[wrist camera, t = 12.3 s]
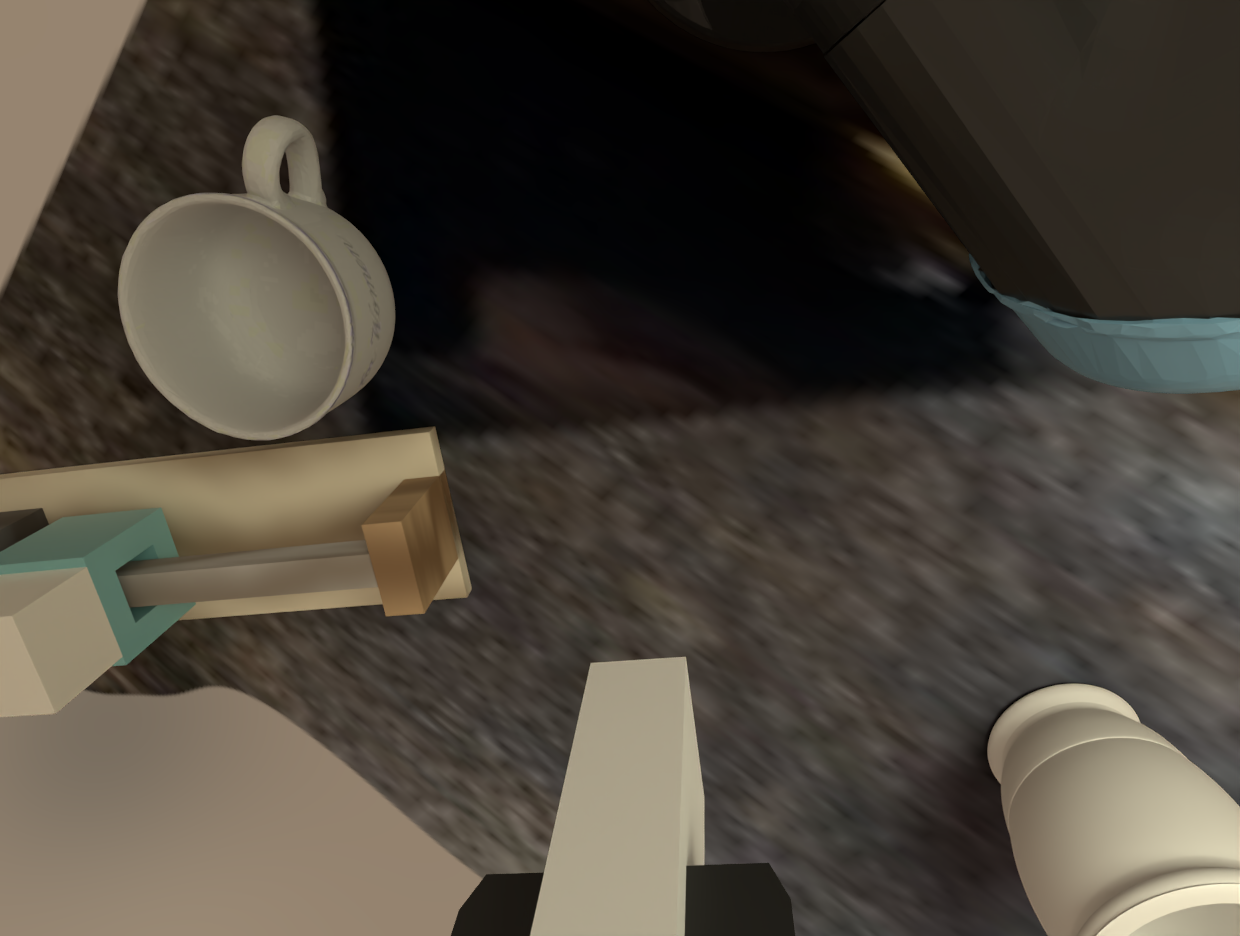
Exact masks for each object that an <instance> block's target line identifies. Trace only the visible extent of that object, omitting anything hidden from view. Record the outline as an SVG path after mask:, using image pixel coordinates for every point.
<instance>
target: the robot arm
mask: <svg viewBox="0 0 1240 936" xmlns="http://www.w3.org/2000/svg"><path fill="white" fill-rule="evenodd" d="M648 1H649V2H650V3H651V4H652V5H653V6H654V7H655V8H656V9H657V10H658V11H659V12H660V13H662V14H663V15H664V16H665V17H666V18H667V19H669V20H670V21H671V22H673V23H674V24H676V25H677V26H678V27H680V28H682V29H683V30H685V31H687V32H688V33H690V34H692V35H694V36H696V37H698V38H700V39H702V40H705V41H707V42H710V43H712V44H715V45H719V46H722V47H725V48H730V49H735V50H741V51H749V52H777V51H785V50H792V49H796V48H801V47H805V46H808V45H812V44H815V43H816V44H817V45H818V47H819V48H820V50H821V51H822V53H823V54H825V53H826V52H827V51H828V50H829V49H830V48H831V47H832V46H833V45H834V44H836V43H837V42H838V41H839V40H840V39H841V38H843V37H844V36H845V35H846V34H847V33H848V32H849V33H848V34H847V35H846V36H845V37H844V38H843V39H842V40H841V41H840V42H838V43H837V44H836V45H835V46H834V47H833V48H832V49H831V50H830V51H829V52H828V53H827V54H826V55H825V56H824V58H825V59H826V61H827V62H828V63H829V65H830V66H831V67H832V69H833V70H834V72H835V73H836V74H837V76H838V77H839V78H840V80H841V81H842V82H843V84H844V85H845V86H846V88H847V89H848V90H849V92H850V93H851V94H852V96H853V97H854V98H855V100H856V101H857V102H858V104H859V105H860V106H861V108H862V109H863V110H864V112H865V113H866V115H867V116H868V117H869V119H870V120H871V121H872V123H873V124H874V125H875V127H876V128H877V129H878V131H879V132H880V133H881V135H882V136H883V137H884V139H885V140H886V141H887V143H888V144H889V145H890V147H891V148H892V149H893V151H894V152H895V153H896V155H897V156H898V158H899V159H900V160H901V162H902V163H903V164H904V166H905V167H906V168H907V170H908V171H909V172H910V174H911V175H912V176H913V178H914V179H915V180H916V182H917V183H918V184H919V186H920V187H921V188H922V190H923V191H924V192H925V194H926V195H927V197H928V198H929V199H930V201H931V202H932V203H933V205H934V206H935V207H936V209H937V210H938V211H939V213H940V214H941V215H942V217H943V218H944V219H945V221H946V222H947V223H948V225H949V226H950V227H951V229H952V230H953V231H954V233H955V234H956V235H957V237H958V238H959V240H960V241H961V242H962V244H963V245H964V246H965V248H966V249H967V250H968V252H969V260H970V263H971V266H972V268H973V270H974V272H975V274H976V276H977V277H978V279H979V280H980V282H981V283H982V285H983V286H984V287H985V288H986V289H987V290H988V292H989V293H993V294H994V295H995V296H996V297H997V298H998V300H999V301H1000V302H1001V303H1002V304H1004V305H1006V306H1008V307H1009V308H1011V309H1013V310H1014V312H1015V313H1016V314H1017V315H1018V316H1019V318H1020V319H1021V320H1022V321H1023V323H1024V324H1025V325H1026V326H1027V327H1028V329H1029V330H1030V331H1031V332H1032V333H1033V335H1034V336H1035V337H1036V338H1037V340H1038V341H1039V342H1040V343H1041V344H1042V345H1043V347H1044V348H1045V349H1046V350H1047V351H1048V352H1049V353H1050V354H1051V355H1052V356H1053V357H1055V358H1056V359H1057V360H1059V361H1060V362H1062V363H1063V364H1064V365H1066V366H1068V367H1069V368H1071V369H1072V370H1074V371H1076V372H1077V373H1079V374H1081V375H1083V376H1086V377H1088V378H1090V379H1092V380H1095V381H1098V382H1101V383H1104V384H1108V385H1112V386H1115V387H1120V388H1125V389H1131V390H1137V391H1144V392H1153V393H1175V394H1190V393H1208V392H1223V391H1232V390H1240V0H648ZM862 19H863V20H862ZM855 26H856V27H855ZM854 27H855V28H854ZM853 28H854V29H853ZM451 936H795V931H794V923H793V914H792V906H791V899H790V897H789V896H788V894H787V892H786V891H785V889H784V887H783V886H782V884H781V882H780V881H779V879H778V877H777V876H776V874H775V872H774V871H773V869H772V868H771V866H770V864H769V863H755V864H723V865H704V792H703V784H702V777H701V769H700V761H699V754H698V746H697V738H696V731H695V723H694V716H693V708H692V700H691V693H690V685H689V678H688V670H687V662H686V657H675V658H660V659H645V660H630V661H615V662H600V663H591V665H590V669H589V673H588V678H587V682H586V687H585V691H584V696H583V700H582V705H581V709H580V714H579V718H578V723H577V727H576V732H575V736H574V741H573V745H572V750H571V754H570V759H569V763H568V768H567V772H566V777H565V781H564V786H563V790H562V795H561V799H560V804H559V808H558V813H557V817H556V822H555V826H554V831H553V835H552V840H551V844H550V849H549V853H548V857H547V862H546V866H545V871H544V873H519V874H486V876H485V877H484V878H483V880H482V881H481V882H480V884H479V885H478V886H477V887H476V889H475V890H474V891H473V893H472V894H471V895H470V897H469V898H468V899H467V901H466V902H465V903H464V904H463V906H462V907H461V908H460V910H459V912H458V915H457V918H456V921H455V925H454V928H453V931H452V934H451Z"/></svg>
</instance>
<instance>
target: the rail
mask: <svg viewBox="0 0 1240 936" xmlns="http://www.w3.org/2000/svg"><path fill="white" fill-rule="evenodd" d="M160 507H161V508H162V511H163V514H164V516H165V519H166V522H167V525H168V527H169V530H170V533H171V536H172V539H173V541H174V544H175V547H176V550H177V553H178V555H179V557H172V558H161V559H151V560H140V561H129V562H127V563H126V564H124V565H123V566H121V567H120V568H118V569H117V570H116V571H115V572H116V574H117V577H118V579H119V582H120V584H121V587H122V589H123V592H124V595H125V597H126V600H127V602H128V605H129V607H130V608H131V607H143V606H155V605H167V604H179V603H192V602H195V603H196V605H195V606H193V607H192V608H191V609H190V610H189V611H188V612H187V613H185V614H184V615H183V616H182V617H181V618H180V619H179V620H189V619H201V618H214V617H226V616H239V615H251V614H264V613H277V612H289V611H302V610H314V609H327V608H339V607H352V606H364V605H377V604H383V607H384V610H385V614H386V616H397V615H410V614H423V613H425V612H426V610H427V608H428V607H429V605H430V603H431V602H432V600H440V599H452V598H465V597H468V595H469V593H470V591H471V590H472V587H471V583H470V578H469V574H468V569H467V565H466V561H465V556H464V552H463V547H462V543H461V539H460V534H459V530H458V525H457V521H456V517H455V512H454V508H453V503H452V499H451V495H450V490H449V486H448V481H447V477H446V473H445V468H444V464H443V459H442V455H441V451H440V446H439V442H438V437H437V433H436V429H435V427H426V428H416V429H407V430H398V431H389V432H380V433H371V434H362V435H353V436H344V437H335V438H326V439H317V440H307V441H298V442H289V443H280V444H271V445H262V446H253V447H244V448H235V449H226V450H217V451H208V452H198V453H189V454H180V455H171V456H162V457H153V458H144V459H135V460H126V461H117V462H108V463H99V464H90V465H80V466H71V467H62V468H53V469H44V470H35V471H26V472H17V473H8V474H0V552H1V551H3V550H5V549H6V548H8V547H10V546H12V545H14V544H15V543H17V542H19V541H21V540H23V539H24V538H26V537H28V536H30V535H32V534H33V533H35V532H37V531H39V530H41V529H42V528H44V527H46V526H48V525H50V524H51V523H53V522H55V521H57V520H59V519H60V518H62V517H70V516H80V515H90V514H100V513H110V512H120V511H130V510H140V509H150V508H160Z"/></svg>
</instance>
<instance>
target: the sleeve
mask: <svg viewBox="0 0 1240 936" xmlns="http://www.w3.org/2000/svg"><path fill="white" fill-rule="evenodd" d="M172 557H179V555H178V553H177V550H176V547H175V544H174V541H173V539H172V536H171V533H170V530H169V527H168V525H167V522H166V519H165V516H164V514H163V511H162V508H161V507H160V508H150V509H140V510H130V511H120V512H110V513H100V514H90V515H80V516H70V517H62V518H60V519H59V520H57V521H55V522H53V523H51V524H50V525H48V526H46V527H44V528H42V529H41V530H39V531H37V532H35V533H33V534H32V535H30V536H28V537H26V538H24V539H23V540H21V541H19V542H17V543H15V544H14V545H12V546H10V547H8V548H6V549H5V550H3V551H1V552H0V717H13V716H28V715H44V714H56V713H57V712H58V711H60V710H61V709H62V708H63V707H64V706H65V705H67V704H68V703H69V702H70V701H71V700H73V699H74V698H75V697H76V696H77V695H78V694H80V693H81V692H82V691H83V690H84V689H85V688H87V687H88V686H89V685H90V684H91V683H93V682H94V681H95V680H96V679H97V678H98V677H100V676H101V675H102V674H103V673H104V672H105V671H107V670H108V669H109V668H110V667H111V666H121V665H127V664H128V663H129V662H130V661H132V660H133V659H134V658H135V657H136V656H137V655H138V654H140V653H141V652H142V651H143V650H144V649H145V648H146V647H148V646H149V645H150V644H151V643H152V642H153V641H155V640H156V639H157V638H158V637H159V636H160V635H161V634H163V633H164V632H165V631H166V630H167V629H168V628H169V627H171V626H172V625H173V624H174V623H175V622H176V621H177V620H179V619H180V618H181V617H182V616H183V615H184V614H185V613H187V612H188V611H189V610H190V609H191V608H192V607H193V606H195V605H196V603H195V602H192V603H179V604H167V605H155V606H143V607H131V608H130V607H129V605H128V602H127V600H126V597H125V595H124V592H123V589H122V587H121V584H120V582H119V579H118V577H117V574H116V572H115V571H116V570H117V569H118V568H120V567H121V566H123V565H124V564H126V563H127V562H129V561H140V560H151V559H161V558H172Z"/></svg>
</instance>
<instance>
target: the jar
mask: <svg viewBox="0 0 1240 936" xmlns="http://www.w3.org/2000/svg"><path fill="white" fill-rule="evenodd" d="M987 755H988V761H989V765H990V768H991V770H992V772H993V774H994V776H995V777H996V779H997V780H998V781H999V783H1000V784H1001V800H1002V807H1003V813H1004V817H1005V821H1006V825H1007V828H1008V831H1009V834H1010V839H1011V845H1012V850H1013V855H1014V859H1015V862H1016V866H1017V869H1018V873H1019V876H1020V879H1021V881H1022V884H1023V887H1024V889H1025V892H1026V894H1027V896H1028V899H1029V901H1030V903H1031V905H1032V907H1033V909H1034V911H1035V913H1036V915H1037V917H1038V919H1039V921H1040V923H1041V925H1042V926H1043V928H1044V930H1045V932H1046V933H1047V935H1048V936H1240V807H1239V806H1238V804H1237V803H1236V802H1235V801H1234V800H1233V799H1232V798H1231V797H1230V796H1229V795H1228V794H1227V793H1226V792H1225V791H1224V790H1223V789H1222V788H1221V787H1220V786H1219V785H1218V784H1217V783H1216V782H1215V781H1214V780H1213V779H1211V778H1210V777H1209V776H1208V775H1207V774H1206V773H1204V772H1203V771H1202V770H1201V769H1200V768H1198V767H1197V766H1196V765H1195V764H1193V763H1192V762H1191V761H1189V760H1188V759H1187V758H1186V757H1185V756H1184V755H1183V754H1182V753H1181V752H1180V751H1179V750H1178V749H1176V748H1175V747H1174V746H1173V745H1172V744H1171V743H1169V742H1168V741H1167V740H1166V739H1164V738H1163V737H1162V736H1160V735H1159V734H1158V733H1156V732H1155V731H1153V730H1151V729H1150V728H1148V727H1146V726H1145V725H1143V724H1141V723H1140V721H1139V718H1138V716H1137V715H1136V713H1135V711H1134V710H1133V709H1132V707H1131V706H1130V705H1129V704H1128V703H1127V702H1126V701H1125V700H1123V699H1122V698H1121V697H1119V696H1118V695H1116V694H1115V693H1113V692H1111V691H1108V690H1106V689H1104V688H1101V687H1097V686H1093V685H1088V684H1075V683H1072V684H1059V685H1054V686H1050V687H1046V688H1042V689H1039V690H1037V691H1034V692H1032V693H1030V694H1028V695H1026V696H1024V697H1023V698H1021V699H1019V700H1018V701H1016V702H1015V703H1014V704H1012V705H1011V706H1010V707H1009V708H1008V709H1007V710H1006V711H1005V712H1004V713H1003V714H1002V715H1001V716H1000V718H999V719H998V720H997V722H996V723H995V725H994V727H993V729H992V731H991V734H990V737H989V741H988V747H987Z"/></svg>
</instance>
